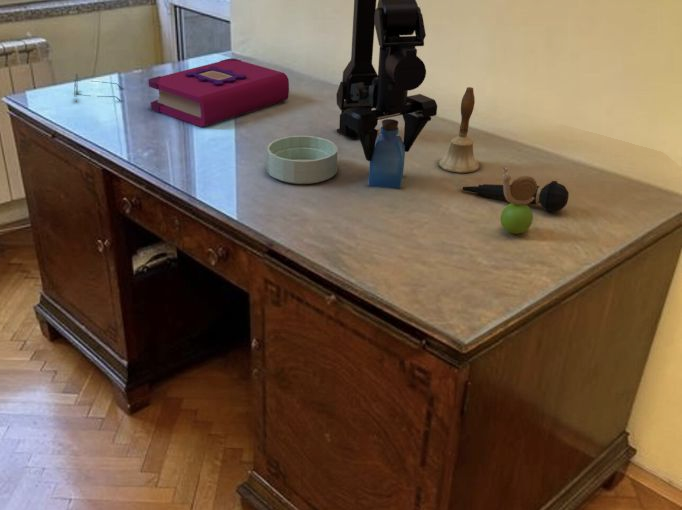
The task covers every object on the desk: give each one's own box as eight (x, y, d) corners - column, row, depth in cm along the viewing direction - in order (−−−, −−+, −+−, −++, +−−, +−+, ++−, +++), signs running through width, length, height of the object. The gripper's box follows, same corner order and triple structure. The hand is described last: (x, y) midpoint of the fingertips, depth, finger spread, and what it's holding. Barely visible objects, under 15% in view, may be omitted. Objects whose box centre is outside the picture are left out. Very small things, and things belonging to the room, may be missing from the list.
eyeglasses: (121, 87, 203) (119, 68, 201) (120, 102, 193) (118, 82, 190) (77, 89, 202) (74, 70, 199) (74, 104, 192) (71, 84, 189)
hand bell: (454, 155, 165) (463, 79, 156) (487, 165, 161) (498, 88, 151) (430, 165, 161) (438, 87, 152) (463, 176, 156) (474, 97, 147)
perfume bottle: (399, 188, 151) (404, 128, 144) (368, 186, 152) (371, 126, 145) (402, 176, 156) (407, 117, 149) (372, 174, 157) (375, 115, 150)
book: (289, 102, 194) (289, 71, 190) (204, 129, 178) (202, 96, 173) (232, 84, 206) (231, 55, 202) (148, 108, 189) (145, 77, 185)
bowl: (312, 154, 166) (312, 131, 163) (350, 176, 156) (351, 152, 153) (254, 167, 159) (253, 143, 156) (290, 191, 150) (290, 166, 147)
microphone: (459, 208, 150) (564, 220, 141) (456, 185, 146) (563, 195, 137) (469, 191, 153) (572, 201, 144) (466, 167, 149) (572, 176, 139)
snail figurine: (489, 225, 138) (499, 161, 131) (524, 224, 138) (536, 160, 131) (497, 239, 133) (509, 173, 126) (534, 238, 134) (547, 172, 127)
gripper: (405, 57, 151) (399, 134, 160) (326, 71, 143) (324, 152, 152) (443, 70, 144) (434, 151, 153) (362, 86, 136) (358, 170, 145)
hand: (387, 155), depth 151 cm, fingers open, 9 cm apart
